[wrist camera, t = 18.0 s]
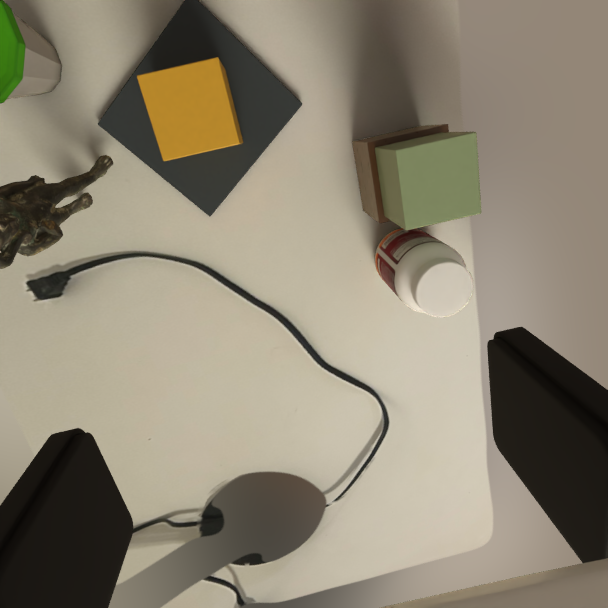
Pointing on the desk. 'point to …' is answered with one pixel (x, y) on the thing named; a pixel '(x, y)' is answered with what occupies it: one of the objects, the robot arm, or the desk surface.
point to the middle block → (430, 179)
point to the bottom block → (368, 164)
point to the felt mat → (246, 97)
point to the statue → (40, 211)
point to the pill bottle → (424, 272)
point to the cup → (25, 59)
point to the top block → (191, 108)
